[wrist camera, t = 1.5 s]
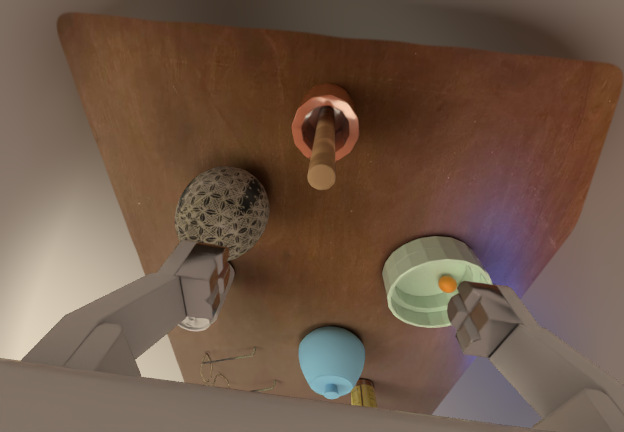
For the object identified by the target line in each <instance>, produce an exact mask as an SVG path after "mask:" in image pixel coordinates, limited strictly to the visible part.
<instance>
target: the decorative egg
mask: <svg viewBox="0 0 624 432" xmlns="http://www.w3.org/2000/svg"><path fill="white" fill-rule="evenodd" d="M268 217H269V201H268V196H267V194H266V191H265V189H264V187H263V186H262V184H261V183H260V182H259V181H258V179H257V178H256V177H254V176H253V175H252V174H250V173H249V172H247V171H245V170H243V169H240V168H237V167H231V166H221V167H215V168H212V169H209V170H207V171H205V172H203V173H201V174H200V175H198V176H197V177H196V178H194V179H193V180H192V181H191V182H190V184H189V185H188V186H187V187H186V189H185V190H184V192H183V193H182V195H181V197H180V199H179V202H178V205H177V208H176V213H175V228H176V232H177V235H178V238H179V240H180V242H181V241H183V240H188V241H194V242H202V243H208V244H214V245H220V246H226V247H228V248H229V258H228V260H227V261H230V260H233V259H235V258H238V257H239V256H241V255H243V254H244V253H246V252H247V251H248V250H249V249H251V248H252V247H253V246H254V245H255V243H256V242H257V241H258V240H259V238H260V237H261V235H262V234H263V232H264V230H265V227H266V225H267V222H268Z"/></svg>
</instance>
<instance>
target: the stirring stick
mask: <svg viewBox="0 0 624 432" xmlns="http://www.w3.org/2000/svg"><path fill="white" fill-rule="evenodd" d="M307 178H308V182H309V184H310V185H311V186H312V187H313V188H315V189H318V190H326V189H328V188H330V187H331V186H332V185H333V184H334V183H335V180H336V164H335V114H334V109H333V108H332V107H331V106H323V107H322V108H321V109H320V111H319V117H318V122H317V127H316V133H315V138H314V143H313V149H312V154H311V159H310V165H309V170H308V176H307Z"/></svg>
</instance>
